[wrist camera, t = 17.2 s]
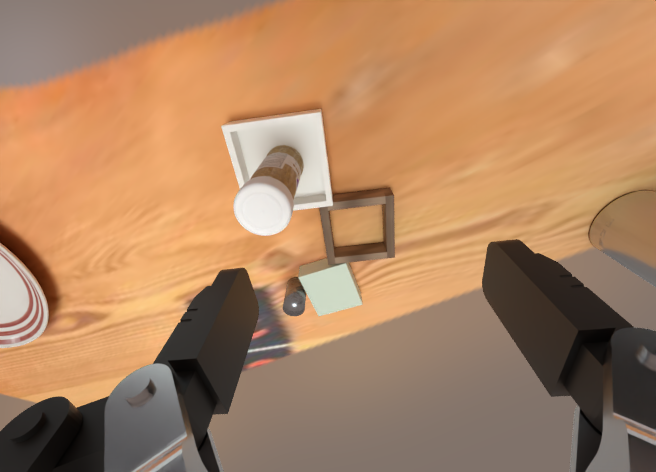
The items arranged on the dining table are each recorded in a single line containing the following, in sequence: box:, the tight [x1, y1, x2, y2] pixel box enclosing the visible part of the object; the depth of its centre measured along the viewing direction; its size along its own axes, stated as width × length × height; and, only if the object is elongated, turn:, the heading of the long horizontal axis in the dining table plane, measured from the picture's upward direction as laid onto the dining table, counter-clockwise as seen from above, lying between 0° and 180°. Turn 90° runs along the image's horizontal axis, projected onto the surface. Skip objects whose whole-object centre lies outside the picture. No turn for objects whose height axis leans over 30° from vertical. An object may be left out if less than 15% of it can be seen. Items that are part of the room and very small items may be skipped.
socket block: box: [319, 188, 395, 264], centre depth 37 cm, size 9×9×2 cm
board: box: [298, 258, 363, 316], centre depth 42 cm, size 7×8×3 cm
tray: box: [221, 109, 333, 210], centre depth 33 cm, size 10×10×3 cm
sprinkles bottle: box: [234, 145, 304, 236], centre depth 28 cm, size 5×5×13 cm
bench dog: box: [283, 277, 306, 316], centre depth 42 cm, size 3×3×5 cm
